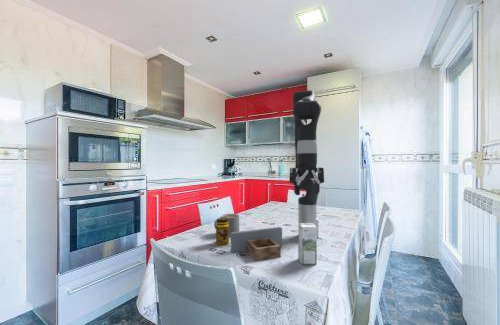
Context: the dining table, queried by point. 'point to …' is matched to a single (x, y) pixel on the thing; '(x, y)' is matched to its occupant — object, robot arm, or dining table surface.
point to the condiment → (222, 233)
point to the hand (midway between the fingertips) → (307, 194)
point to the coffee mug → (231, 222)
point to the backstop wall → (254, 237)
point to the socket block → (263, 249)
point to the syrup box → (307, 243)
